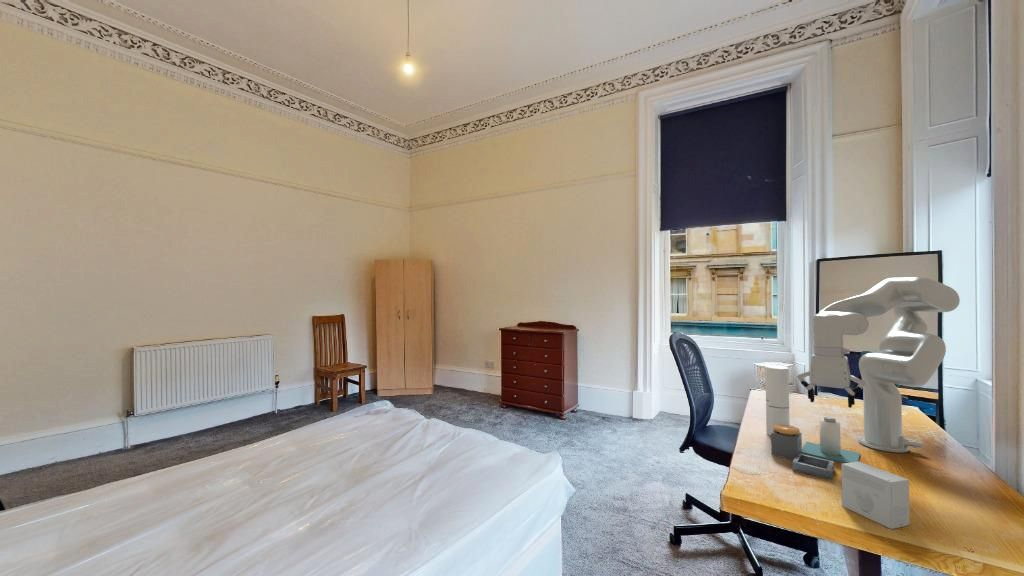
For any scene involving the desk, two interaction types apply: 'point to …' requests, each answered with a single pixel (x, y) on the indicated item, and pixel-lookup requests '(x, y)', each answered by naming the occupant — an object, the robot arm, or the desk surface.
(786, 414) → the cylindrical container
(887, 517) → the skincare box
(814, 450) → the pad
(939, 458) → the desk surface
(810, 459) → the frame
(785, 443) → the plunger housing
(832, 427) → the cylinder
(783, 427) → the plunger
